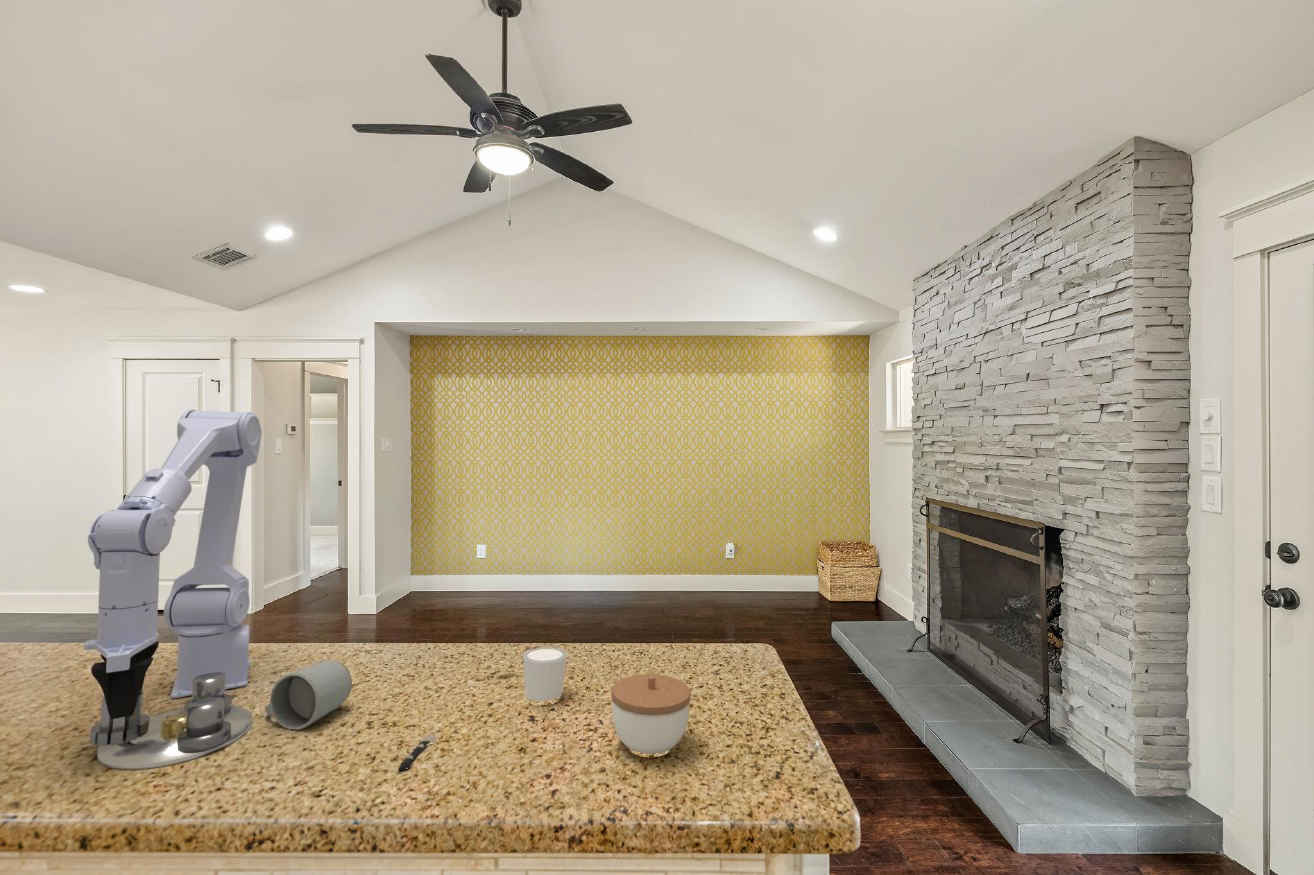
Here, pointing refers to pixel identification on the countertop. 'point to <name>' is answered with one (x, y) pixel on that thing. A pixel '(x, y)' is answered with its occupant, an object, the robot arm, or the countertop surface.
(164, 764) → the carrier
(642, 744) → the lidded jar
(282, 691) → the ceramic mug
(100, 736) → the planet gear
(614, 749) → the countertop surface
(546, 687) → the white short cylinder
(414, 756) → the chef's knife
